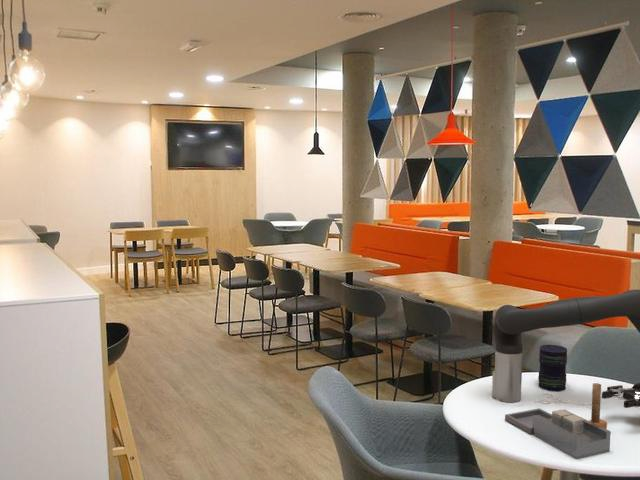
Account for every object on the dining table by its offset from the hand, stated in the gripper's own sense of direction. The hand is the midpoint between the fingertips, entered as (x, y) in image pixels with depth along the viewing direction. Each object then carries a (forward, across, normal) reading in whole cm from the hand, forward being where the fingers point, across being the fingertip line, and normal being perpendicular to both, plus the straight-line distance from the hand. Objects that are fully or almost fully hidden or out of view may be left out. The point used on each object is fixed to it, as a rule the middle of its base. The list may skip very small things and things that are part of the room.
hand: (613, 399), depth 197 cm
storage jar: (-9, -36, +9) cm, 39 cm away
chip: (+21, +5, +5) cm, 22 cm away
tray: (+21, -11, +9) cm, 25 cm away
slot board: (+21, +4, +9) cm, 23 cm away
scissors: (-2, -22, +10) cm, 24 cm away
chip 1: (+21, 0, +5) cm, 21 cm away
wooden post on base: (+7, 0, +9) cm, 12 cm away
